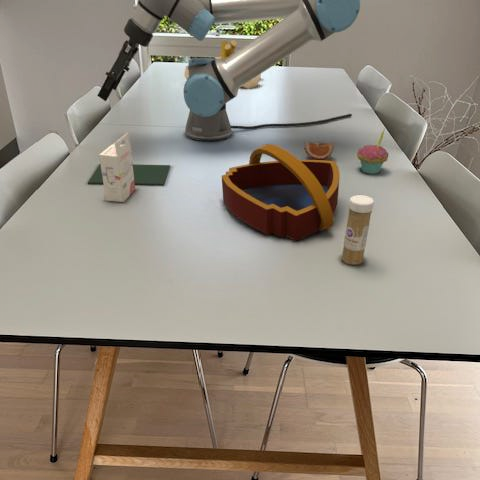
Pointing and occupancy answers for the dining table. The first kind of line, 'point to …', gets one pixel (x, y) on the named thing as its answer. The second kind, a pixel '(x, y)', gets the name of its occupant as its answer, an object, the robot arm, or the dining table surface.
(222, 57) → the campfire
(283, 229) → the decorative basket
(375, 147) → the cupcake
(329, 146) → the fruit slice
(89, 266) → the dining table surface
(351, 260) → the sprinkles bottle
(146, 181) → the mat
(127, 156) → the ink cartridge box
